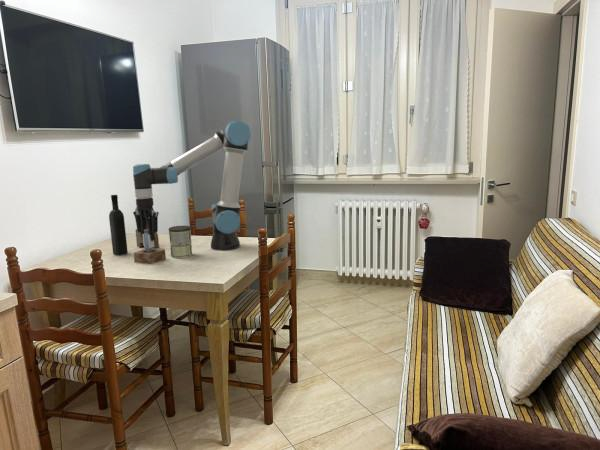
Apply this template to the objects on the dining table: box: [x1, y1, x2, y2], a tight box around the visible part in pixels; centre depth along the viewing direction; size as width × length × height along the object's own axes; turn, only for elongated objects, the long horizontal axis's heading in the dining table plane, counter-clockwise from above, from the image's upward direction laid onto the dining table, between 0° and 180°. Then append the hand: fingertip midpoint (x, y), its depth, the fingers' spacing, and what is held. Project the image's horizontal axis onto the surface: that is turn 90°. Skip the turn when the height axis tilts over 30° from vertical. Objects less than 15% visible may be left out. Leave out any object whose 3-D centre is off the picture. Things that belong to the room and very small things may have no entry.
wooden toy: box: [134, 206, 160, 249], centre depth 230 cm, size 16×7×25 cm, turn 44°
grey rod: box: [144, 229, 153, 253], centre depth 204 cm, size 3×3×14 cm
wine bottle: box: [108, 194, 129, 256], centre depth 216 cm, size 6×6×30 cm
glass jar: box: [168, 225, 193, 259], centre depth 211 cm, size 10×10×14 cm
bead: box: [133, 248, 167, 265], centre depth 205 cm, size 10×10×4 cm
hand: (149, 246), depth 204 cm, fingers closed on grey rod, 3 cm apart
